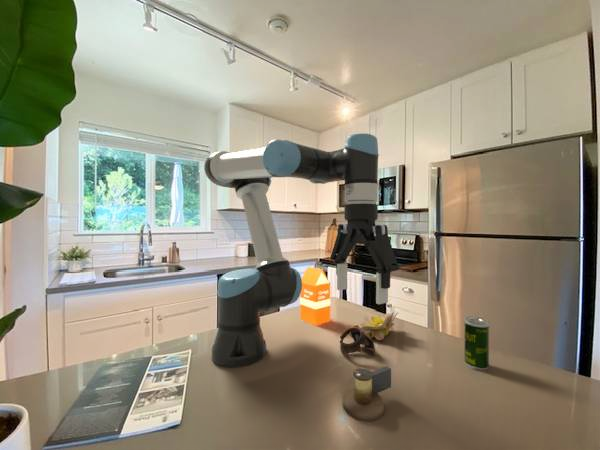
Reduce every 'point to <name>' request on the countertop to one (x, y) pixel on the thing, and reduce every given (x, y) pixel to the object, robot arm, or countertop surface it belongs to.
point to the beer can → (476, 343)
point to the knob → (370, 383)
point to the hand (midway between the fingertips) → (360, 295)
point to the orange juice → (315, 297)
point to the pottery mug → (356, 340)
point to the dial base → (362, 407)
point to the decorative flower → (379, 325)
